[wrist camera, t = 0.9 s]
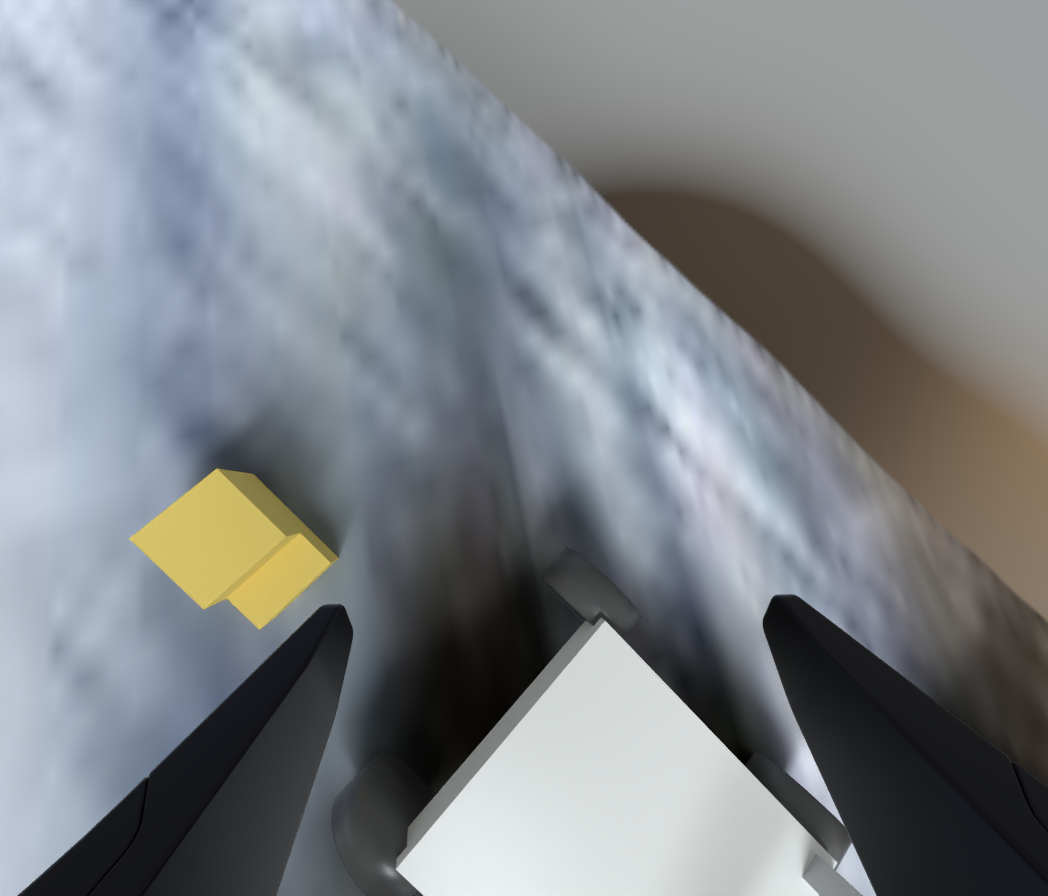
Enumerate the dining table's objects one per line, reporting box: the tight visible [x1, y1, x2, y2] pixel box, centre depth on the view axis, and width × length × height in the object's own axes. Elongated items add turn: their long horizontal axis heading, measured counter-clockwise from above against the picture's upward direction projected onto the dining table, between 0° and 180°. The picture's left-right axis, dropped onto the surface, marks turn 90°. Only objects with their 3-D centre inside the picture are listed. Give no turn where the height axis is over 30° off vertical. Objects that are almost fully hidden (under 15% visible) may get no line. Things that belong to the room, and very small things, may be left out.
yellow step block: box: [129, 469, 339, 630], centre depth 19 cm, size 4×6×4 cm, turn 44°
